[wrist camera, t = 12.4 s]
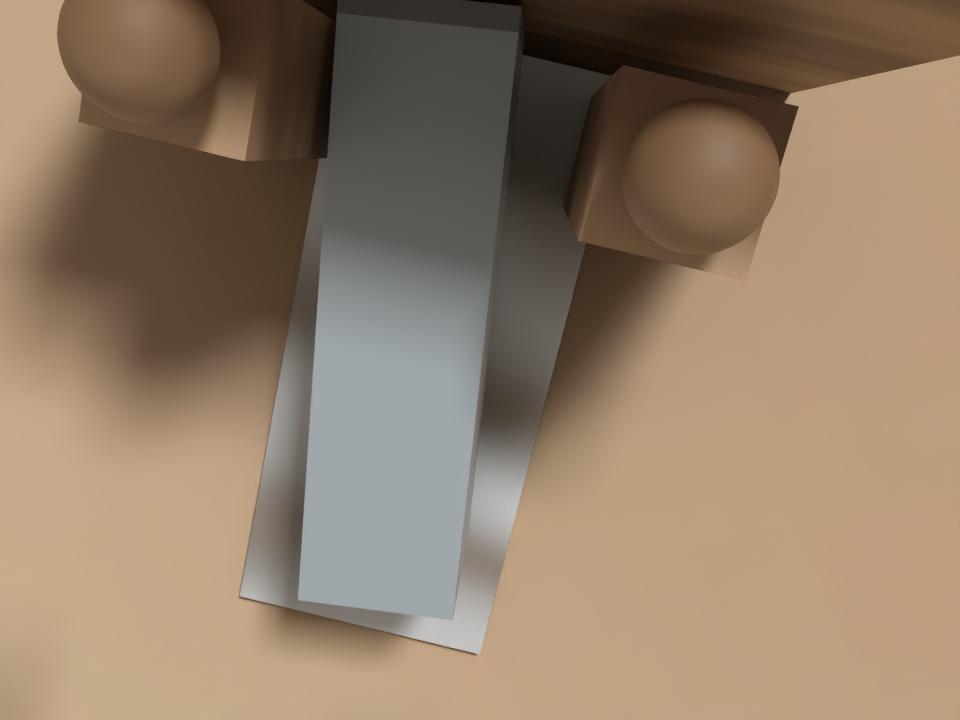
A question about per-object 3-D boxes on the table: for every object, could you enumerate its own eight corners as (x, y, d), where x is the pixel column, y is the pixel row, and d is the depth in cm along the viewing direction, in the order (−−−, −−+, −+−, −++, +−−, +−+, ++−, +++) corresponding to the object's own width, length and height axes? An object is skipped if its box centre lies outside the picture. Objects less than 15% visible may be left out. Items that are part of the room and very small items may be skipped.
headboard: (612, 682, 33) (681, 1165, 17) (110, 560, 33) (-275, 929, 17) (806, 43, 27) (1163, -99, 12) (204, -99, 27) (-234, -426, 12)
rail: (468, 532, 31) (452, 620, 25) (342, 516, 31) (297, 600, 26) (525, 37, 27) (521, 6, 22) (380, 21, 28) (338, -13, 22)
